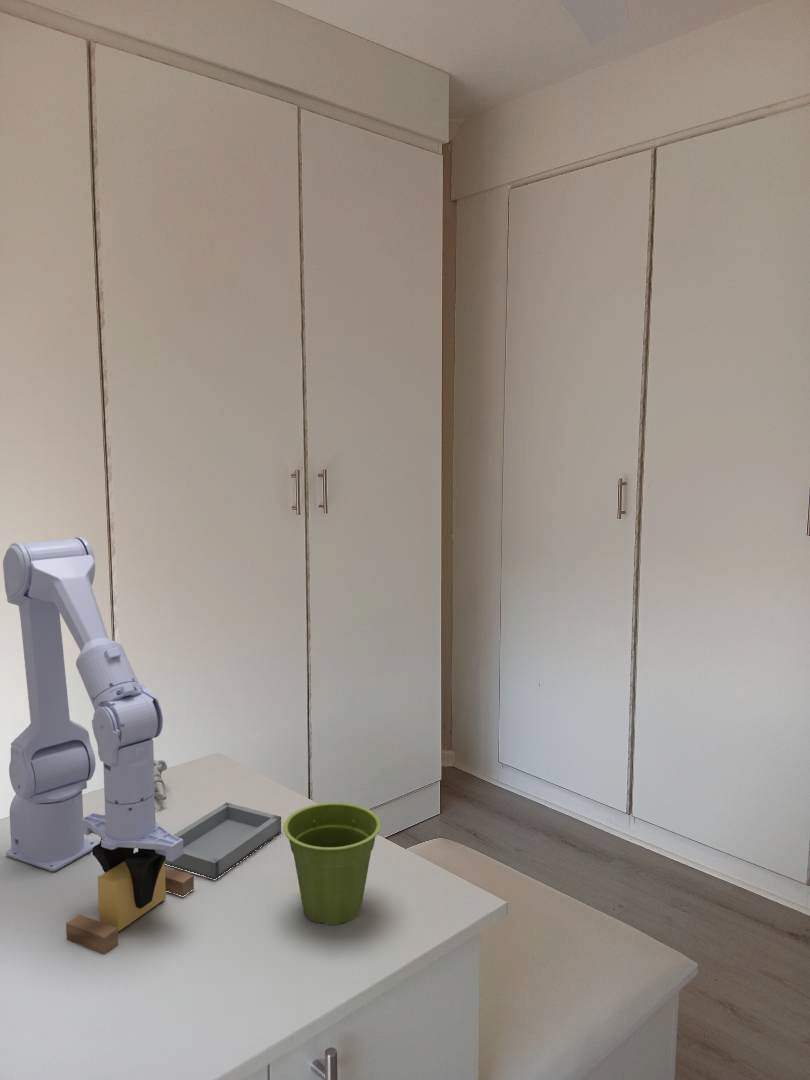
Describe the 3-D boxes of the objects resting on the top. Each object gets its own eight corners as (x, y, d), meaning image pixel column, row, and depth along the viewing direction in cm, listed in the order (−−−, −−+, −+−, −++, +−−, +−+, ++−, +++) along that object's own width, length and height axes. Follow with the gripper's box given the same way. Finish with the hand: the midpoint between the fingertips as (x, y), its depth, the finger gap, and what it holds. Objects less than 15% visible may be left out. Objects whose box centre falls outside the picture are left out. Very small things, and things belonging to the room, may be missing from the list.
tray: (156, 862, 115) (156, 845, 115) (226, 818, 129) (226, 802, 128) (215, 880, 111) (214, 863, 111) (281, 832, 124) (281, 816, 124)
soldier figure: (128, 819, 130) (118, 769, 140) (151, 832, 133) (139, 781, 143) (165, 785, 130) (152, 737, 140) (187, 798, 133) (173, 750, 143)
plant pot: (263, 914, 104) (262, 827, 102) (329, 874, 113) (329, 794, 111) (335, 951, 97) (336, 858, 95) (399, 905, 106) (400, 820, 104)
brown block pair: (66, 939, 98) (66, 923, 98) (158, 878, 111) (157, 864, 111) (104, 953, 95) (104, 937, 95) (193, 890, 109) (193, 875, 108)
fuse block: (99, 924, 100) (97, 877, 100) (147, 892, 108) (146, 847, 107) (118, 931, 99) (116, 883, 98) (165, 898, 106) (164, 853, 105)
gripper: (59, 794, 101) (64, 900, 103) (152, 821, 95) (155, 933, 96) (104, 773, 107) (108, 873, 109) (194, 796, 101) (196, 903, 103)
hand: (133, 900), depth 103 cm, fingers closed on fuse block, 3 cm apart
